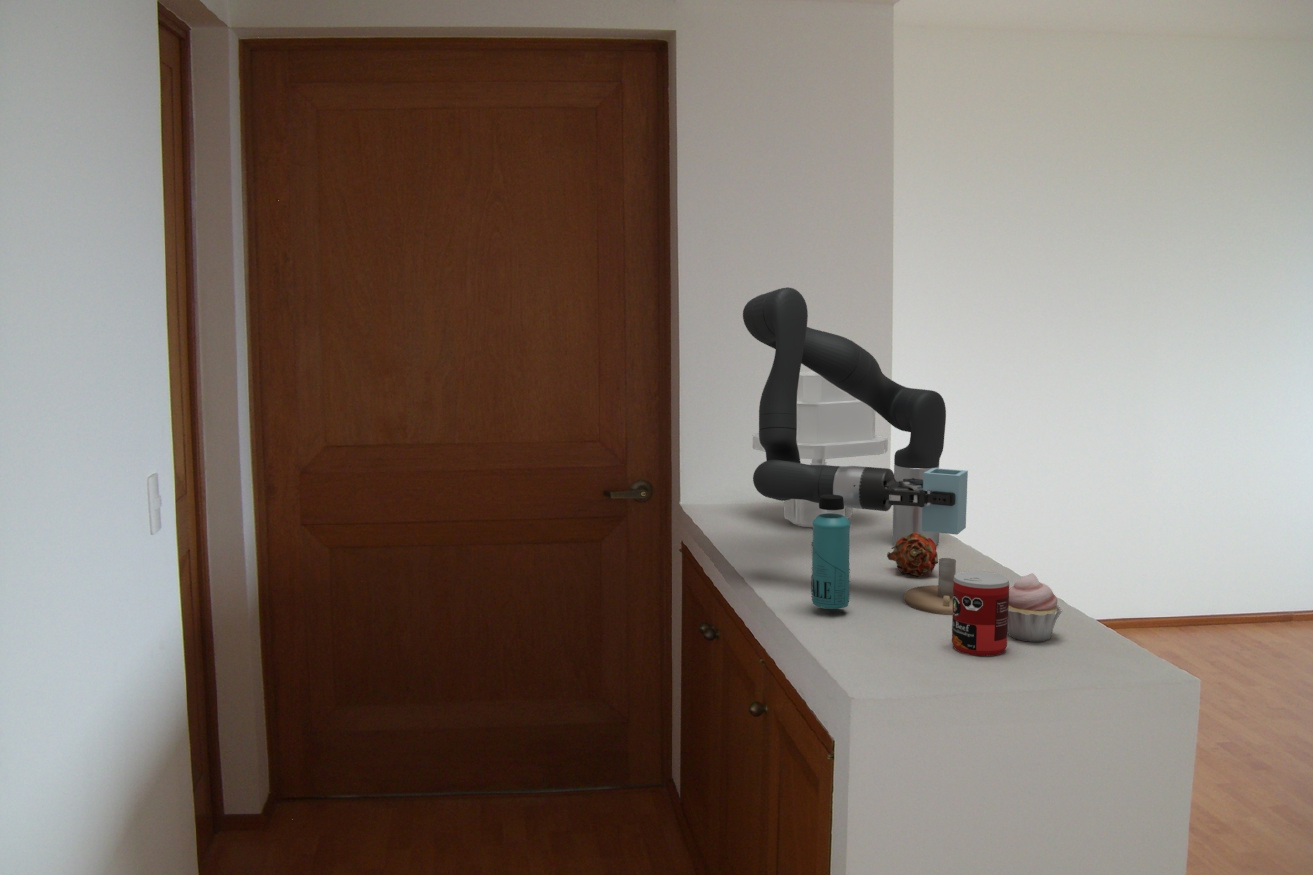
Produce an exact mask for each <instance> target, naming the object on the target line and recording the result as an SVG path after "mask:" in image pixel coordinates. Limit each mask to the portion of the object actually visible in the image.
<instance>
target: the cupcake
mask: <svg viewBox="0 0 1313 875" xmlns="http://www.w3.org/2000/svg"><path fill="white" fill-rule="evenodd" d="M1058 603H1059V602H1058V598H1057V596H1056V594H1055V593H1054V591H1053V589H1051V587H1050V586H1049V585H1047V584H1045V583H1043V582H1041V581H1039V578H1038V577H1037V576H1036V575H1035V573H1034V572H1032V573H1029V574H1027V575H1023V576H1022V577H1020V578H1019V579H1017V581H1015V582H1014V585H1013V586H1011V587H1009V609H1008V632H1007V635H1008V636H1009V637H1010V638H1013V639H1016V640H1019V641H1023V642H1030V643H1031V642H1033V643H1035V642H1037V643H1038V642H1046V641H1048V640H1050V638H1051V637H1052V634H1053V632H1054V628H1055V624H1056V622H1057V619H1058V618H1059V617H1060V615H1061V613H1062V612H1063V609H1061V605H1058Z"/></svg>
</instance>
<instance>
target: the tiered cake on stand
mask: <svg viewBox="0 0 1313 875" xmlns="http://www.w3.org/2000/svg"><path fill="white" fill-rule="evenodd" d="M888 438H889V437H887V436H883V435H877V434H876V411H875V410H874V409H872V408H871V407H870V406H868V405H867V404H865V403H863V402H862V401H860V400H858V399H856V398H855V397H853V396H851V395H850V394H848V393H846V392H845V391H843V390H841V389H840V388H838V387H836V386H835V385H833V384H832V383H830V382H829V381H827V380H826V379H825V378H823V377H822V376H820V375H819V374H817V373H816V372H814V371H812V370H806V371H803V370H802V371H801V370H800V374H799V381H798V390H797V437H796V440H797V446H798V450H799V456H800V459H805V460H806V459H808V460H811V463H810V464H809V465H827V462H826V460H829V459H830V460H831V459H840V458H841V459H842V458H853V457H855V458H856V457H865V456H866V457H867V456H876V455H878V456H879V455H883V454H886V453H887V452H888V444H889V442H888V440H889V439H888ZM752 449H753V450H756V451H759V452H764V453H766V452H765V449H764V448H763V447H762V445H761V444H760V440H759V432H756V433H754V434H752ZM783 513H784V514H783V515H784V519H785V520H788V521H789V522H791V524H793V525H796V526H799V527H802V528H803V527H804V528H806V527H807V528H813V524H812V523H813V520H814V519H815V518H816V517H817V516H819V515H820V514H828V513H833V514H841V515H843V516H845V517H846V518H847V519H848V520H849V519H850V518H852V516H853V515H852V514H853V508H849V507H844V509H842V510H824V509H820V508H819V503H815V502H811V501H808V500H801V499H790V500H786V501H783Z"/></svg>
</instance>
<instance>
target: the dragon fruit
mask: <svg viewBox="0 0 1313 875" xmlns="http://www.w3.org/2000/svg"><path fill="white" fill-rule="evenodd" d="M890 549H891V550H893V551H891V552H890V551H888V552H887V554H886V557H887V559H888V560H889V561H893V562H895V564H896V569H898V570H899V571H900V572H901V573H904V574H905V573H906V574H907V573H908V574H910V575H913V576H916V577H921V576H922V575H923V574H925V573H929V572H931V573H932V572H933V571H934V569H935V567H936V565H937V564H939V558H938V552H937V549H938V547H937V546H936V544H935V543H934V541H933V540H932V539H931V538H927V537H926V536H925V535H923V534H920V533H916V532H913V533H912V534H910V535H907V536H906V537H902V538H900V539H899V540H898V541H896V545H895V546H894V545H893V546H892V547H891V548H890Z"/></svg>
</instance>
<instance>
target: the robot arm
mask: <svg viewBox="0 0 1313 875" xmlns="http://www.w3.org/2000/svg"><path fill="white" fill-rule="evenodd" d="M805 299H806V298H804V296H803V294H801V293H800V292H799V291H798V290H797V289H795V288H794V287H793V288H792V287H789V286H788V287H782V288H778V289H775V290H772V291H769V292H766V293H761V294H760V295H757V296H755V297H754V298H752V299H750V300H748V301H747V303H746V304H745V306H744V308H743V310H742V320H743V325H745V328H746V330H747V331H748V333H749V334H750V335H751V337H753V339H755V340H757V341H759V342H760V343H762V344H764V345H766V346H768V347H770V348H772V349H774V350H775V351H774V358H773V362H772V366H771V369H770V371H769V375H768V377H767V379H766V382H765V384H764V387H763V389H762V393H761V396H760V401H759V407H758V408H759V409H758V433H759V440H760V444H761V445H762V447H763V448H764V449H765V452H764V453H765V458H766V461H763V462H761V463H760V464H758V466H757V467H756V468H755V470H754V472H753V476H752V479H753V480H752V484H753V485H754V487H755V489H756V491H757V492H758V493H759V494H760V495H761V496H763V497H766V498H768V499H773V500H776V501H782V502H784V501H786V500H790V499H801V500H808V501H811V502H815V503H819V501H820V496H822V495H840V496H842V497H843V501H844V507H849V508H852V509H858V510H859V509H860V510H868V511H869V510H871V511H879V512H888V511H889V510H890V509H891V508H892V545H893V547H894V546H895V545H896V541H898V540H899V539H900V538H902V537H906V536H907V535H910V534H912V533H913V532H916V533H920V534H923V535H925V536H926V537H927V538H931V539H932V540H933V541H934V543H935V544H936V547H937V546H938V545H939V544H940V533H936V532H927V531H922V507H924V506H925V505H926V506H929V505H931V503H932V504H934V505H945V506H953V505H954V504H955V493H953V492H941V491H931V490H929V489H927V490H925V489H923V473H924V472H926V471H928V470H930V469H932V468H939V469H940V459H941V456H942V455H943V452H944V447H945V433H946V432H945V431H946V423H947V422H946V421H947V420H946V419H947V408H946V403H945V399H944V398H943V397H942V395H941V394H940V393H939V392H938V391H935V390H932V389H931V390H930V389H922V388H911V387H907V386H905V385H901V384H900V383H897V382H896V381H894V380H892V379H890V378H889V377H887V376H886V375H885V374H884V373H883V371H882V369H881V367H880V364H879V363H878V361H877V359H876V358H875V357H874V356H873V354H871V353H870V352H869V351H868V350H866V349H864V348H863V347H862V346H861V345H859V344H857V343H856V342H855V341H853V340H851V339H849V338H847V337H844V336H841V335H838V334H835V333H831V332H827V331H823V330H819V329H815V328H812V327H810V326H809V327H808V318H809V316H808V314H809V312H808V305H807V302H806V300H805ZM802 365H803V366H805V367H806V368H808V369H810V371H814V372H816V373H817V374H819V375H820V376H822V377H823V378H825V379H826V380H827V381H829V382H830V383H832V384H833V385H835V386H836V387H838V388H840V389H841V390H843V391H845V392H846V393H848V394H850V395H851V396H853V397H855V398H856V399H858V400H860V401H862V402H863V403H865V404H867V405H868V406H870V407H871V408H872V409H874V410H875V413H877V414H878V415H880V416H881V417H882V418H883V419H884V420H885V421H886V422H887V423H889V424H890V425H891V426H892V427H894V428H895V429H897V430H899V431H903V432H906V433H910V434H909V435H910V438H909V443H908V445H906V446H905V447H903V448H899V449H898V450H896V451H895V452H894V458H893V460H894V462H893V464H894V465H893V470H892V469H891V468H889V467H888V468H887V467H872V466H871V467H870V466H860V465H848V466H845V465H843V466H840V465H827V464H826V465H810V464H805V463H803V462H801V458H800V456H799V450H798V446H797V440H796V437H797V390H798V381H799V374H800V371H801V367H802ZM892 506H893V507H892ZM938 543H939V544H938Z"/></svg>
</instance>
